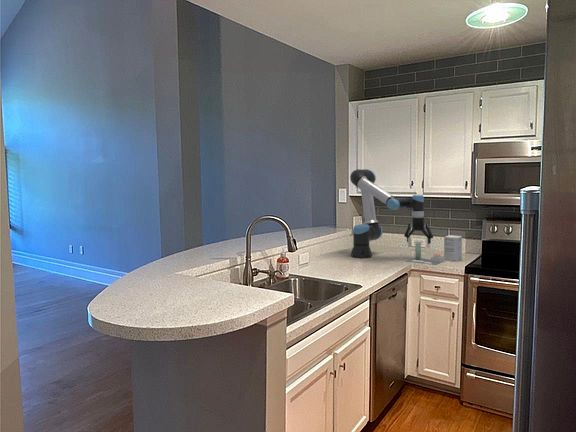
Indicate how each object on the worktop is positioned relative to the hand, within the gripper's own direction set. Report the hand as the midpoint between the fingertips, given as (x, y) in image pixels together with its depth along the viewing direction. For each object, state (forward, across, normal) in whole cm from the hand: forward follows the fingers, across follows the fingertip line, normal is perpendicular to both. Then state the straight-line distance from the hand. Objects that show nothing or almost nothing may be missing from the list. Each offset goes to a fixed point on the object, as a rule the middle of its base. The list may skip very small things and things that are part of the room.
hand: (418, 247), depth 291 cm
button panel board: (+9, +6, -5) cm, 12 cm away
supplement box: (+9, +19, +11) cm, 24 cm away
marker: (+8, -1, 0) cm, 8 cm away
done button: (+7, +13, -1) cm, 15 cm away
